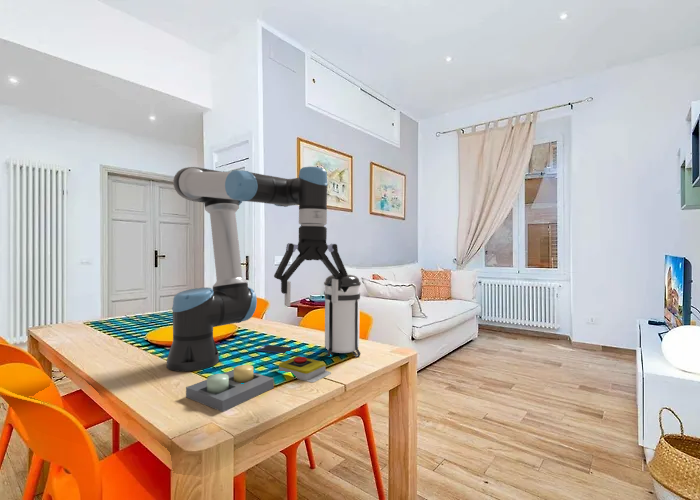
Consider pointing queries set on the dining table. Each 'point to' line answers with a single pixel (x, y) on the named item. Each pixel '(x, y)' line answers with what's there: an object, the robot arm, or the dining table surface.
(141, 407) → the dining table surface
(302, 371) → the emergency button
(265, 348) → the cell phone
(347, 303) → the coffee press
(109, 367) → the dining table surface
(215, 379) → the sage button
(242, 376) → the tan button
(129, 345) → the dining table surface
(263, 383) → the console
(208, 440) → the dining table surface
